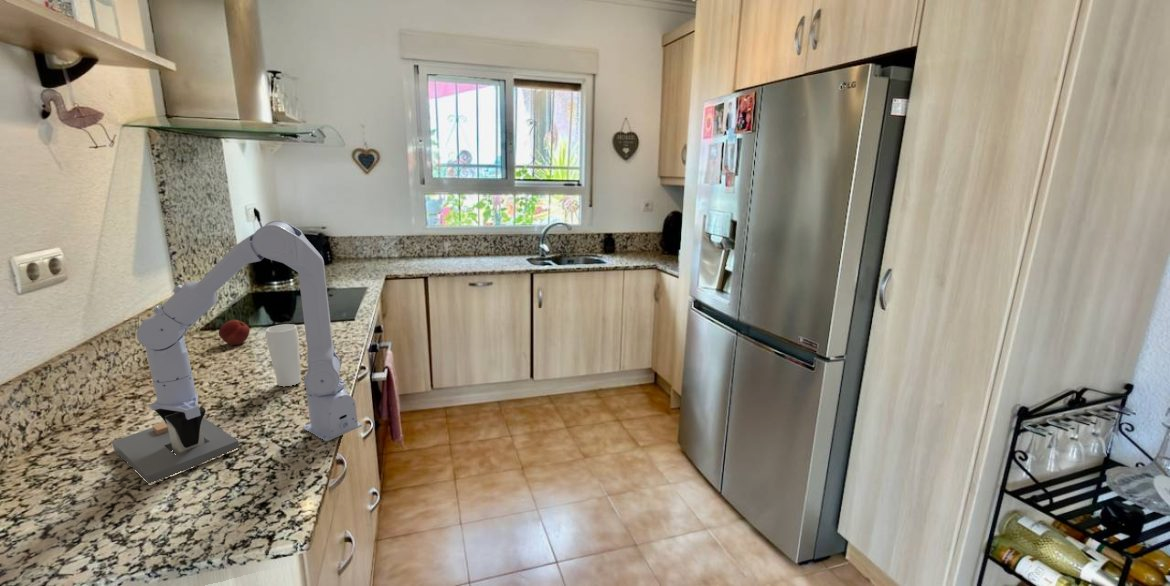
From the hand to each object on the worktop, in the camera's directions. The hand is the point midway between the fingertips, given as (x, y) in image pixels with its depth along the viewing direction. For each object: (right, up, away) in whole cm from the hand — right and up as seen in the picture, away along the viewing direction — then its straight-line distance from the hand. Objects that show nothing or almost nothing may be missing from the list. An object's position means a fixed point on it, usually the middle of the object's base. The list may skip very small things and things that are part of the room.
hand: (186, 441), depth 96 cm
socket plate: (-3, -2, +1) cm, 4 cm away
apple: (-32, +12, +60) cm, 69 cm away
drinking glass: (+1, +5, +32) cm, 32 cm away
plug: (0, -2, +1) cm, 2 cm away
